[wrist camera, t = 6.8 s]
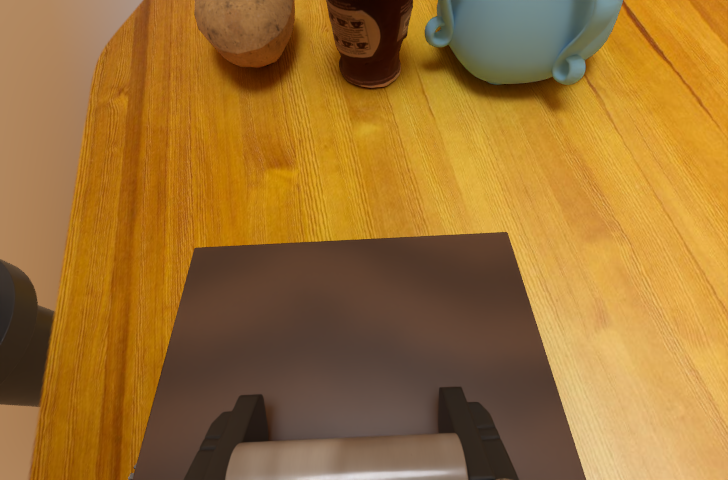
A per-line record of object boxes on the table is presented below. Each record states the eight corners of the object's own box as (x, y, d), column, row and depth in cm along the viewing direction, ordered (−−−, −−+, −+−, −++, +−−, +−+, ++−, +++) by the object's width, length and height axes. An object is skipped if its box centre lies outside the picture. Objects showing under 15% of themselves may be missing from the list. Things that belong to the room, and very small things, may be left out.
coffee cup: (368, 112, 37) (365, -34, 25) (312, 71, 40) (285, -77, 28) (427, 66, 39) (448, -85, 28) (370, 31, 42) (368, -119, 31)
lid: (600, 557, 12) (717, 584, 8) (118, 579, 12) (-20, 616, 8) (503, 240, 19) (537, 166, 15) (200, 255, 20) (150, 186, 15)
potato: (211, 101, 38) (172, 26, 31) (215, 15, 44) (185, -64, 37) (307, 89, 38) (291, 12, 31) (298, 5, 45) (283, -75, 38)
